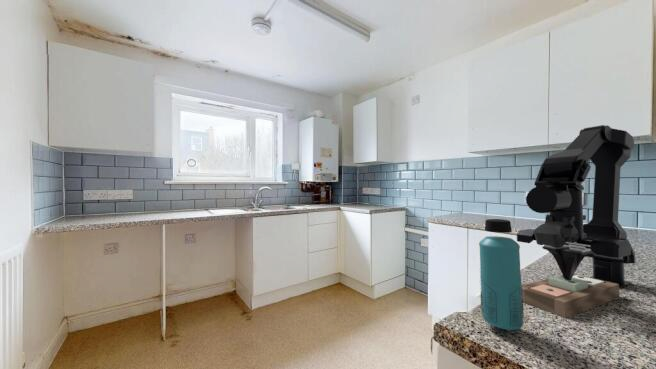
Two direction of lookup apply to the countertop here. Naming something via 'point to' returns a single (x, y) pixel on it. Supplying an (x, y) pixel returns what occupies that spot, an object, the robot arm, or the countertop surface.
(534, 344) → the countertop surface
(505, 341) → the countertop surface
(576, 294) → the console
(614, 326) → the countertop surface
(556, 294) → the one dot button
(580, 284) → the three dot button
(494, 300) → the beverage bottle
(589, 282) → the two dot button
